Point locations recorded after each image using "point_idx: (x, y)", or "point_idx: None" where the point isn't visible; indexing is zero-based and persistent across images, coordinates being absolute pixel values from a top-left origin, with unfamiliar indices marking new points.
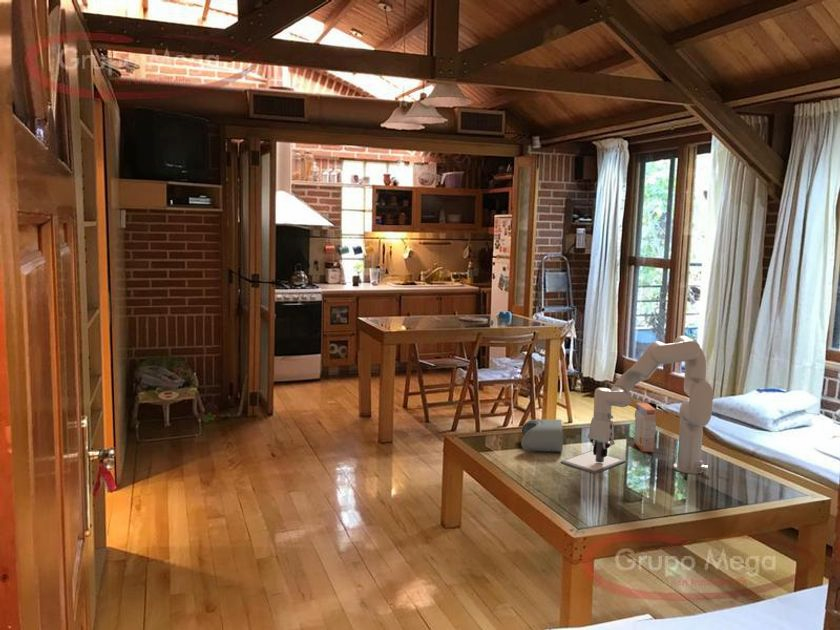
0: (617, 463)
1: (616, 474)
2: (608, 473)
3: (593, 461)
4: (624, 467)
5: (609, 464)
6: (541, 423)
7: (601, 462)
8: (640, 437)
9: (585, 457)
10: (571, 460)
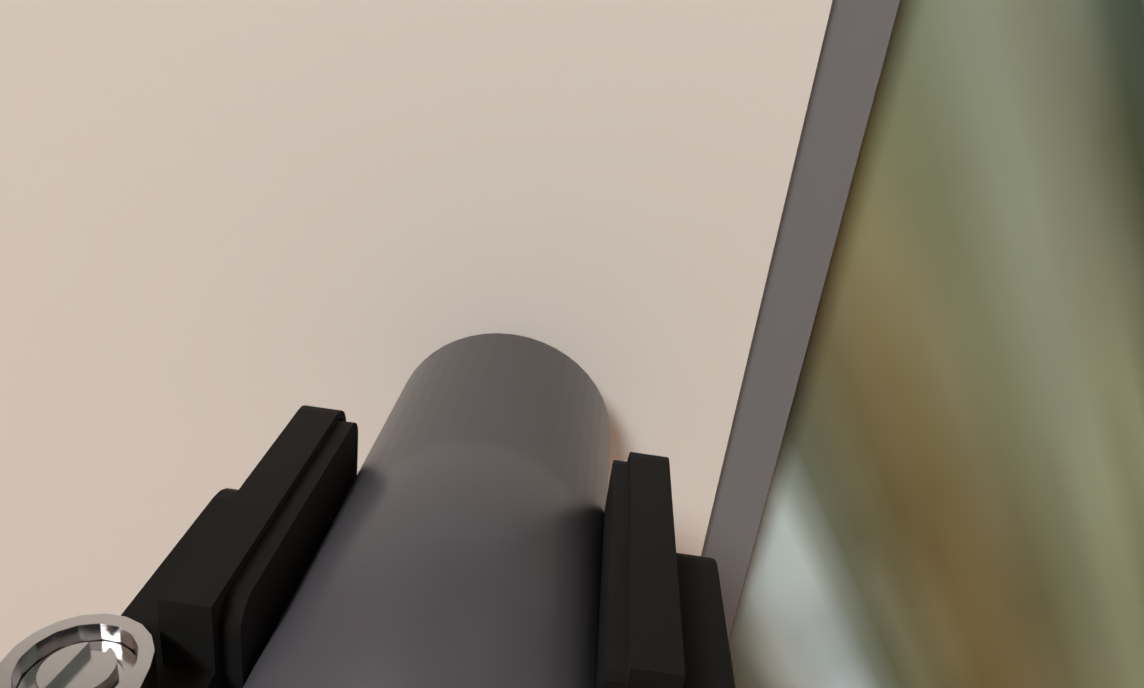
0: (885, 48)
1: (1032, 615)
2: (873, 656)
3: (341, 384)
4: (1099, 75)
5: (744, 324)
6: None
7: (517, 319)
8: None
9: (27, 251)
10: (12, 619)
